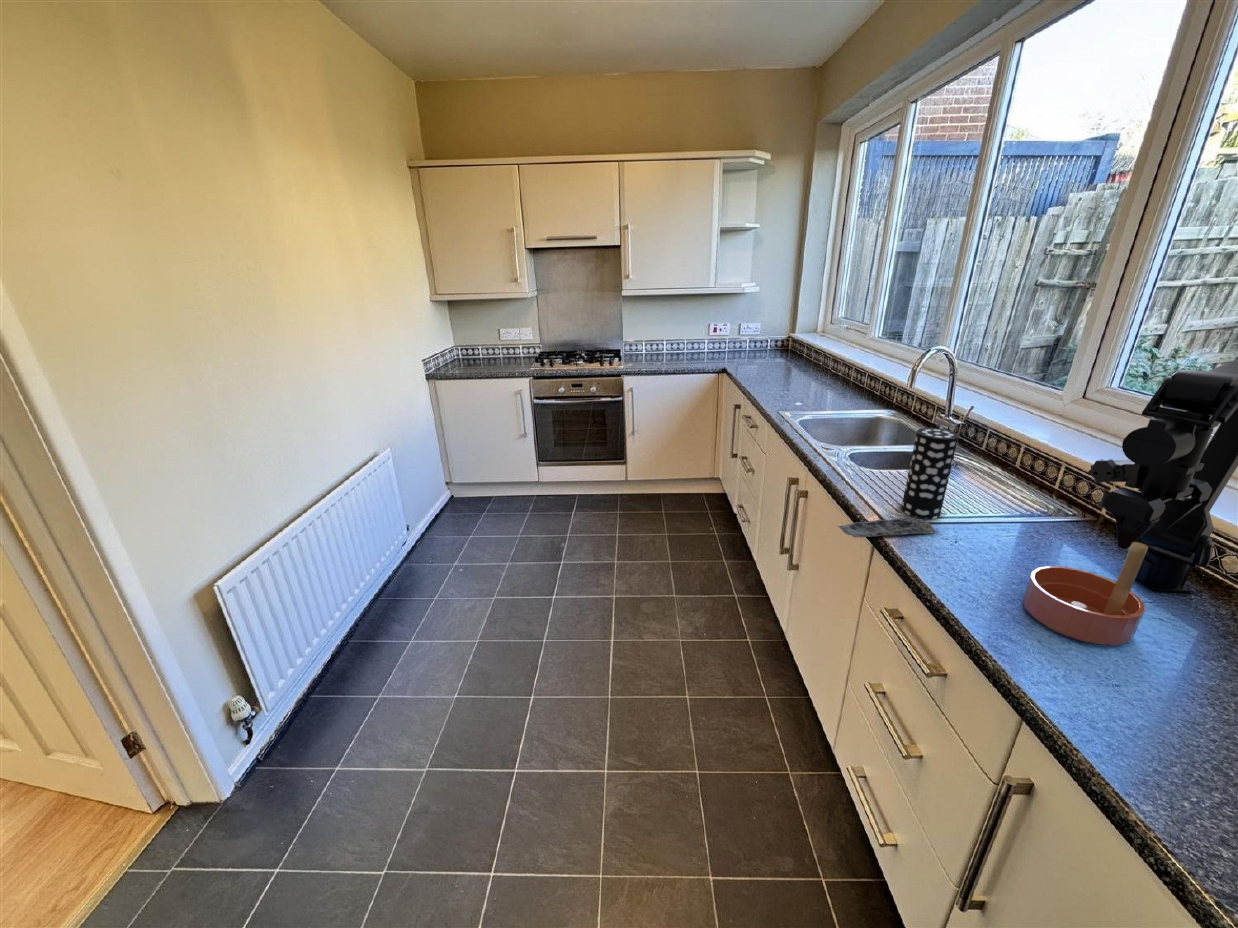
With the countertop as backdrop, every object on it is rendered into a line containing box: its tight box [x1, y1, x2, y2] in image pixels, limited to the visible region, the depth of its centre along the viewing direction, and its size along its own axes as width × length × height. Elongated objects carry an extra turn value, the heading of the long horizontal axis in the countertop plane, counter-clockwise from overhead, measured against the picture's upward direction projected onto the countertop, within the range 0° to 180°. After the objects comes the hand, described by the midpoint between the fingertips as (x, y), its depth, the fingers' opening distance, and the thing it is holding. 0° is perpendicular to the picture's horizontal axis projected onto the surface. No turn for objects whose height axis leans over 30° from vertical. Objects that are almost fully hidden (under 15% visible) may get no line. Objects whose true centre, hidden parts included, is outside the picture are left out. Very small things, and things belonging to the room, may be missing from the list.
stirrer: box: [1059, 542, 1148, 615], centre depth 83 cm, size 10×2×15 cm, turn 32°
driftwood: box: [838, 517, 937, 539], centre depth 115 cm, size 21×7×2 cm, turn 96°
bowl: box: [1021, 565, 1146, 646], centre depth 85 cm, size 14×14×6 cm
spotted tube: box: [900, 427, 960, 520], centre depth 120 cm, size 8×8×20 cm
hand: (1137, 541), depth 84 cm, fingers open, 9 cm apart
